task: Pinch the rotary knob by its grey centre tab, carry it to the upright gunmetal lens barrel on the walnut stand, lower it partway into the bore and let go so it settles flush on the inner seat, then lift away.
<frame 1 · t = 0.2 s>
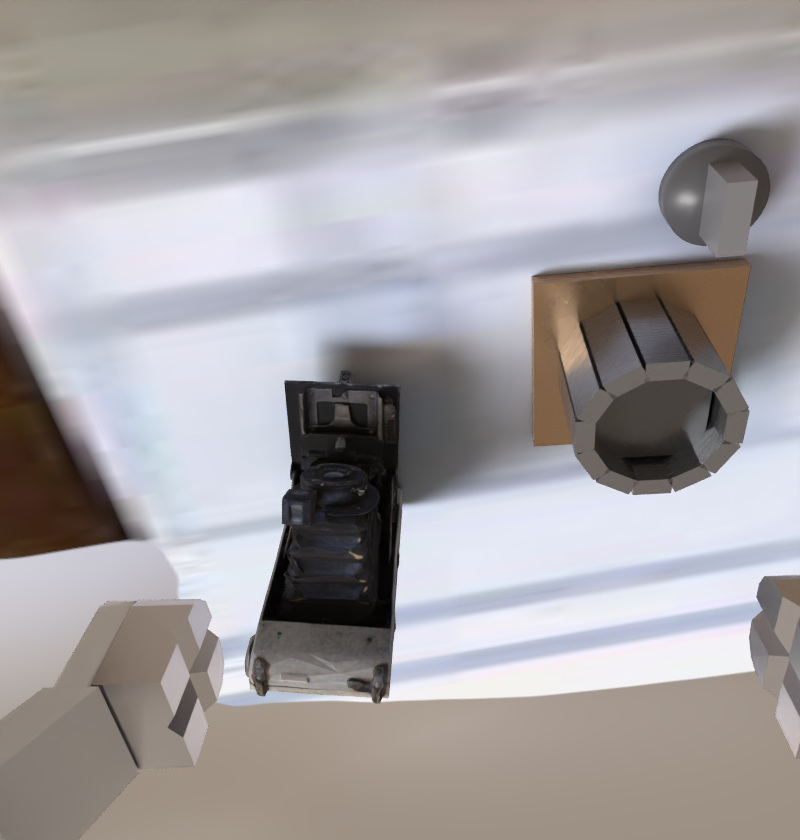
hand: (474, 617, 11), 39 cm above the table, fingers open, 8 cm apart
rotary knob: (707, 187, 45), on the table
lens barrel: (628, 356, 52), on the table
vintage camera: (347, 436, 58), on the table
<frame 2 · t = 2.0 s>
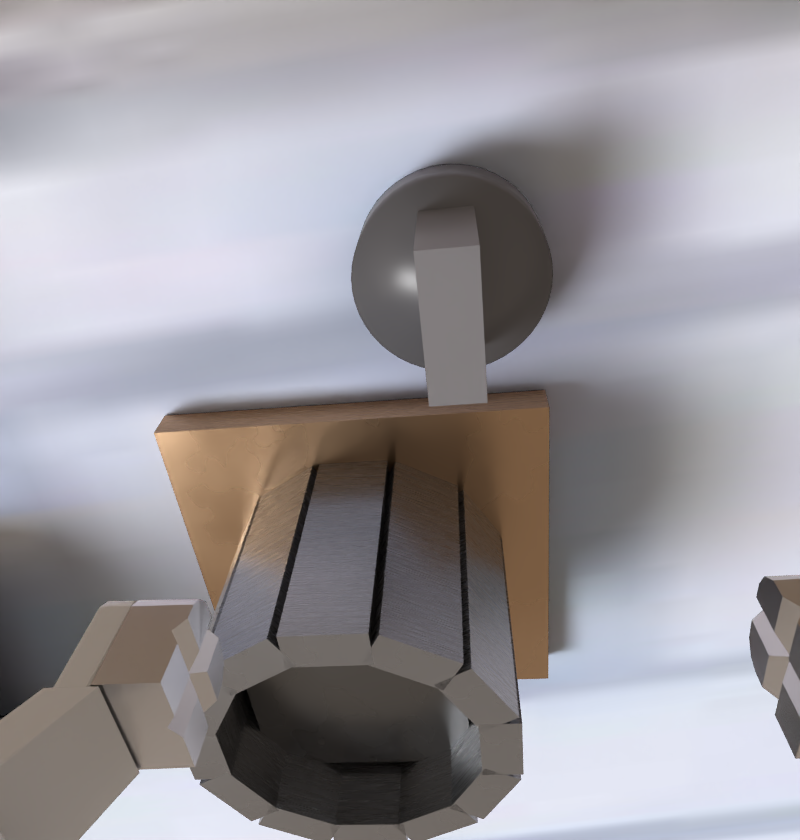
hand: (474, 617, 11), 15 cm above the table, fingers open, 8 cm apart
rotary knob: (450, 259, 23), on the table
lens barrel: (373, 548, 30), on the table
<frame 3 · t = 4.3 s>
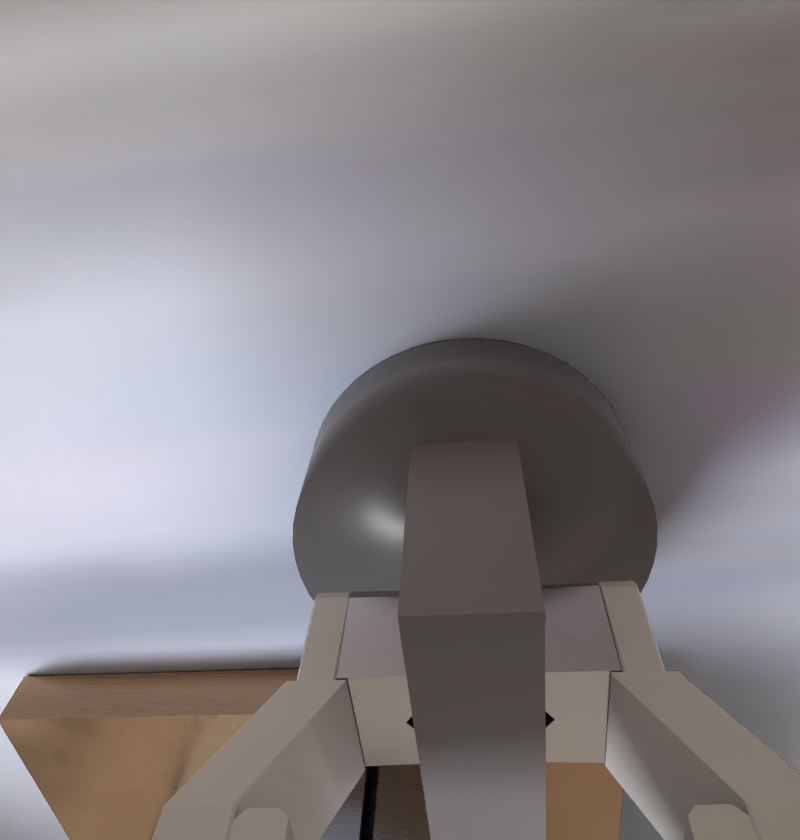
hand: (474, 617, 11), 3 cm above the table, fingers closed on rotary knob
rotary knob: (468, 482, 14), on the table, touching gripper
lens barrel: (351, 838, 20), on the table
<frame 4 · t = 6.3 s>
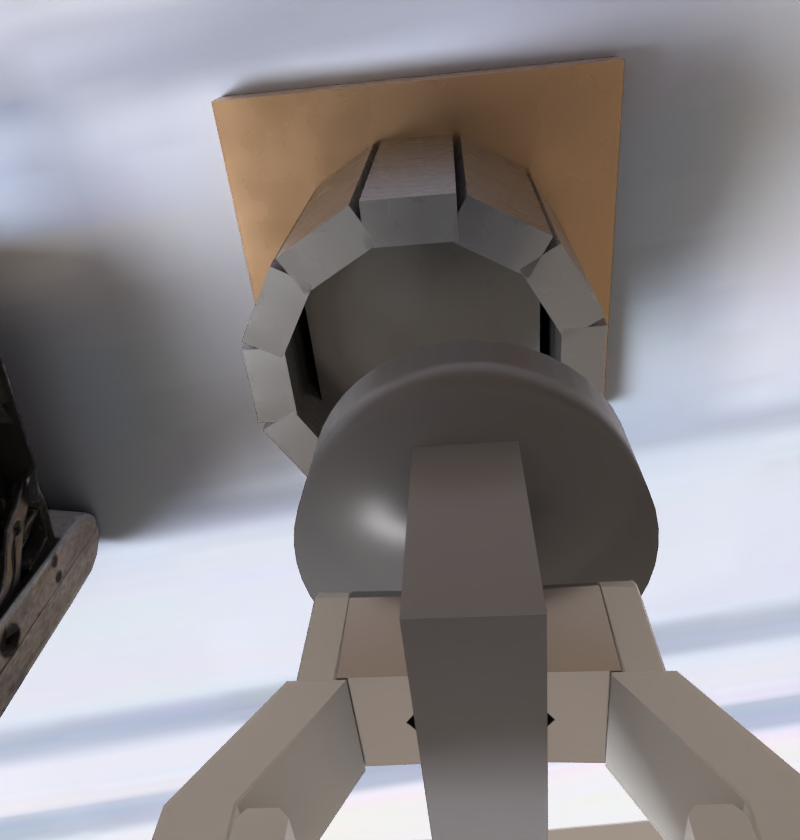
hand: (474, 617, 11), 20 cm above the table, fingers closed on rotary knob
rotary knob: (469, 484, 14), point 17 cm above the table, touching gripper
lens barrel: (428, 267, 29), on the table
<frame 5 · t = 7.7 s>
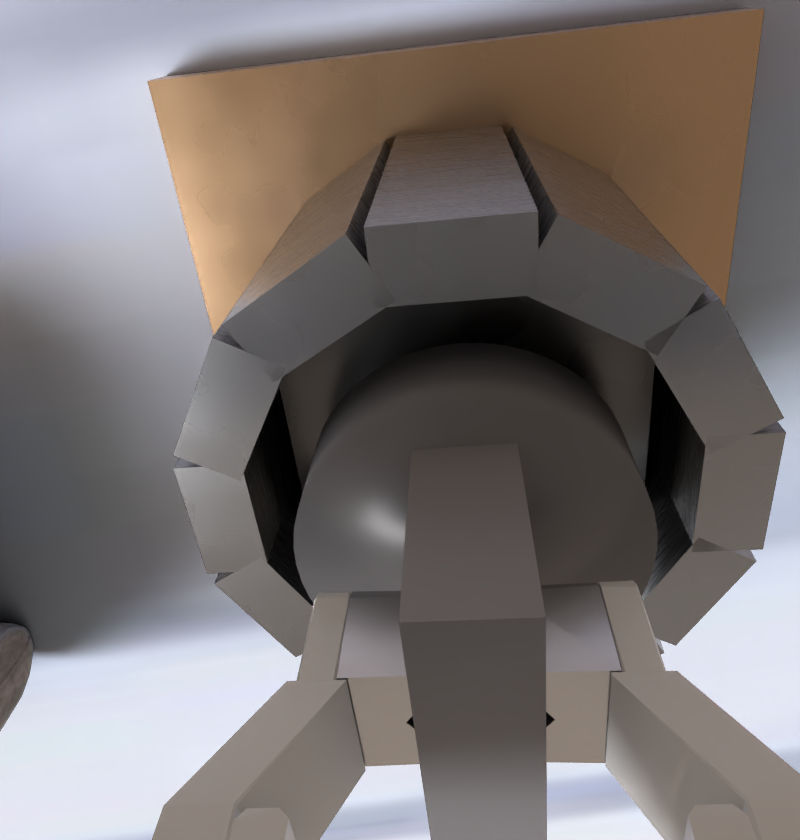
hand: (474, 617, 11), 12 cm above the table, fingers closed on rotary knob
rotary knob: (468, 486, 14), point 8 cm above the table, touching gripper
lens barrel: (460, 313, 21), on the table
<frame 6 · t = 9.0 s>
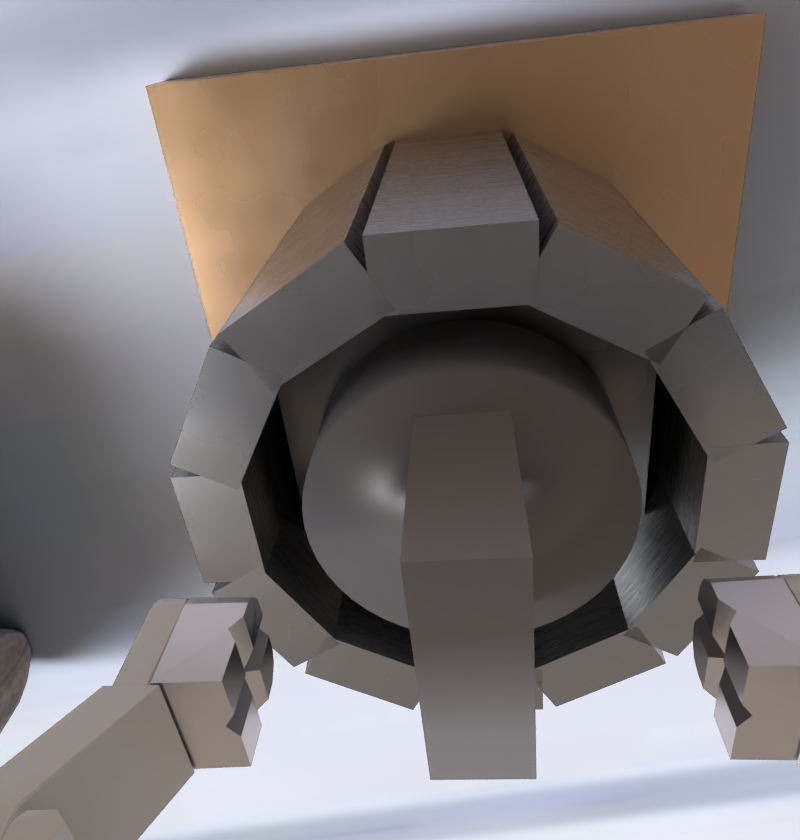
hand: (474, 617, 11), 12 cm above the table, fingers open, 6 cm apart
rotary knob: (466, 457, 14), point 7 cm above the table, touching lens barrel
lens barrel: (460, 319, 21), on the table
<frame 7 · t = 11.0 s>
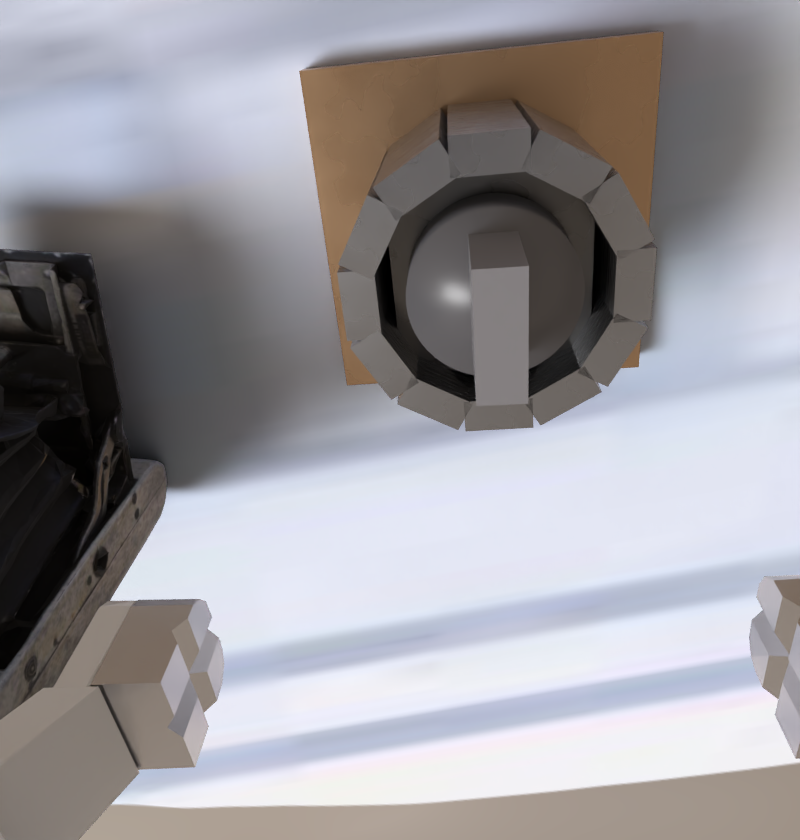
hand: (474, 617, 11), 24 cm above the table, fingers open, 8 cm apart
rotary knob: (491, 277, 26), point 7 cm above the table, touching lens barrel
lens barrel: (482, 224, 32), on the table
vintage camera: (66, 373, 37), on the table
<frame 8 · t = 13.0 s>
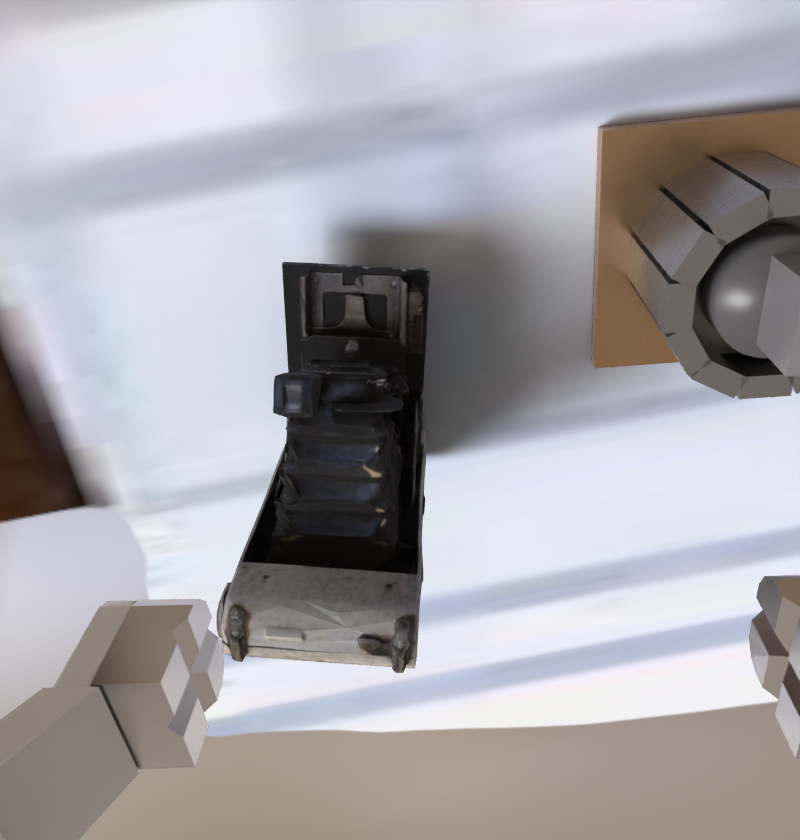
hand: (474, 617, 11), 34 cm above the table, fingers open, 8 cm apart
rotary knob: (764, 285, 35), point 7 cm above the table, touching lens barrel
lens barrel: (717, 242, 41), on the table
vintage camera: (358, 361, 47), on the table
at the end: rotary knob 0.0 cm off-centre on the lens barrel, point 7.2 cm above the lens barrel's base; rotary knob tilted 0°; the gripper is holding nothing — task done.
